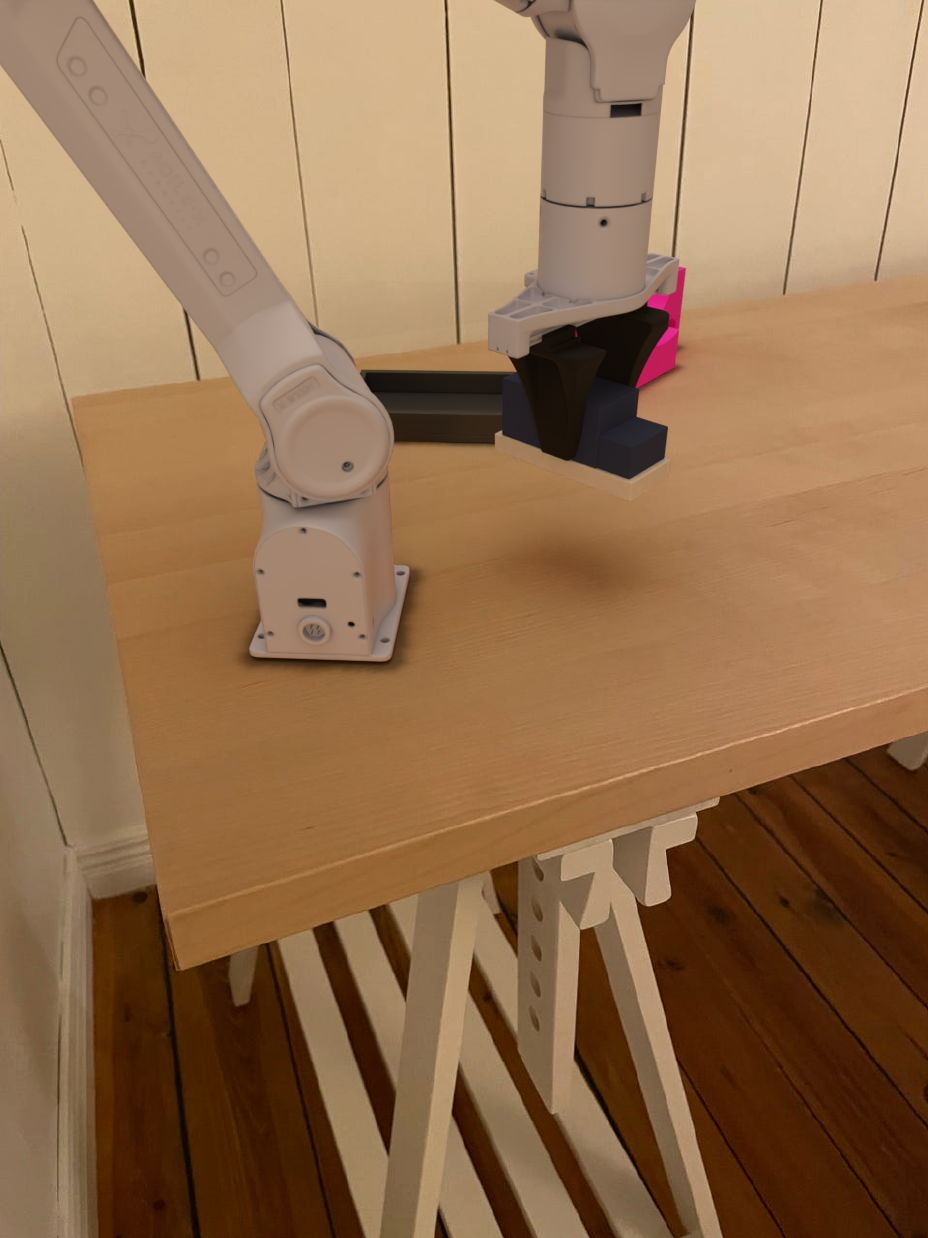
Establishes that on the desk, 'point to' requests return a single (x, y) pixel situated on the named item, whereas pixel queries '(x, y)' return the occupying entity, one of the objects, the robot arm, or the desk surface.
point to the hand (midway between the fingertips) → (581, 442)
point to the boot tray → (440, 403)
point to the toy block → (667, 345)
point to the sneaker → (592, 440)
